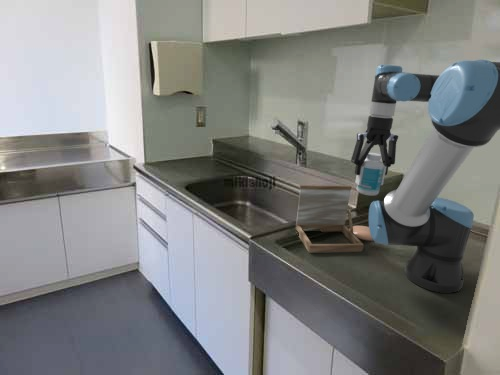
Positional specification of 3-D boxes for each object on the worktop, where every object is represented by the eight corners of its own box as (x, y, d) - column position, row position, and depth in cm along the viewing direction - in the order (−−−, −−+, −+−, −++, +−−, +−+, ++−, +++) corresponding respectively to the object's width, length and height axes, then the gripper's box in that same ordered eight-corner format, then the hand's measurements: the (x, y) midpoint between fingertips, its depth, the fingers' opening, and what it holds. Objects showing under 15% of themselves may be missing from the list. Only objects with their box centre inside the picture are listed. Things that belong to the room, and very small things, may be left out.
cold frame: (365, 252, 118) (375, 202, 113) (308, 253, 115) (315, 202, 109) (346, 230, 133) (353, 185, 128) (294, 230, 130) (299, 185, 124)
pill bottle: (380, 197, 121) (387, 157, 117) (357, 195, 122) (364, 155, 118) (376, 190, 128) (383, 152, 124) (354, 188, 129) (361, 150, 125)
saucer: (386, 240, 127) (386, 239, 127) (356, 240, 125) (357, 239, 125) (371, 227, 137) (372, 225, 137) (344, 227, 135) (344, 225, 135)
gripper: (402, 115, 122) (389, 180, 130) (346, 113, 118) (336, 180, 125) (416, 119, 115) (402, 187, 123) (357, 116, 111) (346, 187, 118)
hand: (369, 183), depth 124 cm, fingers closed on pill bottle, 7 cm apart
